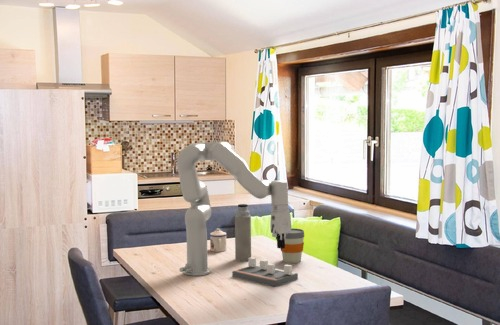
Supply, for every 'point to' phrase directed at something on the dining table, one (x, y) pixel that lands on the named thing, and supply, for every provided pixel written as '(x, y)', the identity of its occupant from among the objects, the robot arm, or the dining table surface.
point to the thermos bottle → (242, 233)
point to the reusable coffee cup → (293, 246)
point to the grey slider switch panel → (265, 273)
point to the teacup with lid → (218, 241)
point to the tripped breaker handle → (271, 268)
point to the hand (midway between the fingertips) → (281, 248)
